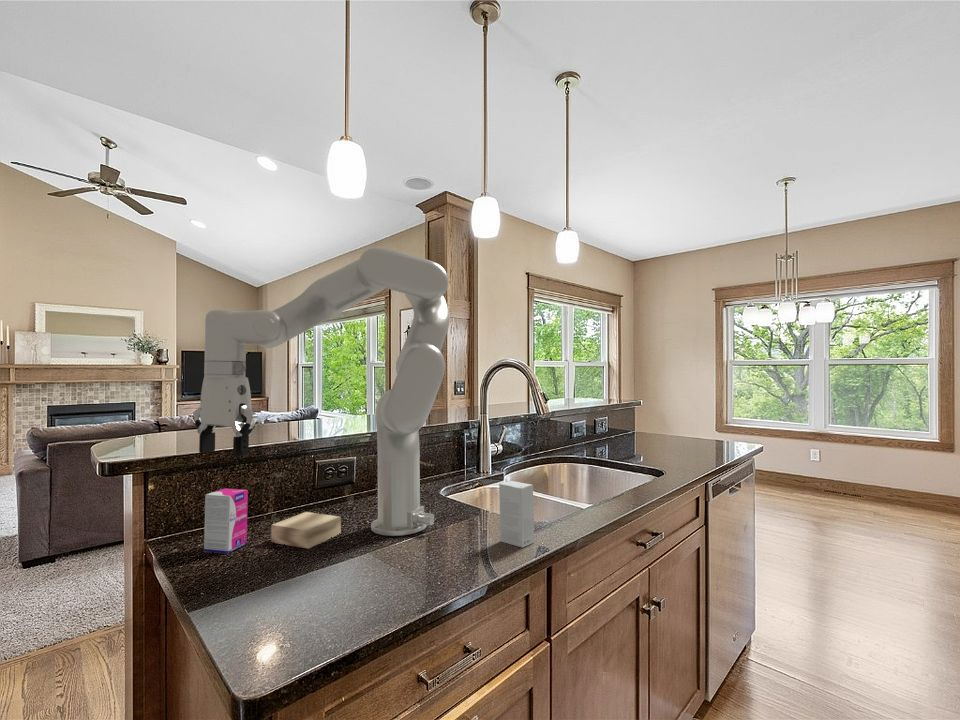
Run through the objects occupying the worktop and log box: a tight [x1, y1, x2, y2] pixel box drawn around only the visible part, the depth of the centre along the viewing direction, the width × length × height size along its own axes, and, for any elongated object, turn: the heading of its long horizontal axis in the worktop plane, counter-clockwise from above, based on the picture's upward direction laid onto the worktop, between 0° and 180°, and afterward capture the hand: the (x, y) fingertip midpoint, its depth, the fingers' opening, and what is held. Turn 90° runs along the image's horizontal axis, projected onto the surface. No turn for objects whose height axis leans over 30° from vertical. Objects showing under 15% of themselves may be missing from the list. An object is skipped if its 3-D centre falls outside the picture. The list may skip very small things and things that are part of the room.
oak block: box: [270, 511, 342, 550], centre depth 106 cm, size 10×10×4 cm
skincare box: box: [498, 480, 535, 549], centre depth 101 cm, size 6×4×12 cm
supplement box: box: [203, 487, 249, 554], centre depth 100 cm, size 6×6×12 cm
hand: (223, 454), depth 100 cm, fingers open, 9 cm apart
